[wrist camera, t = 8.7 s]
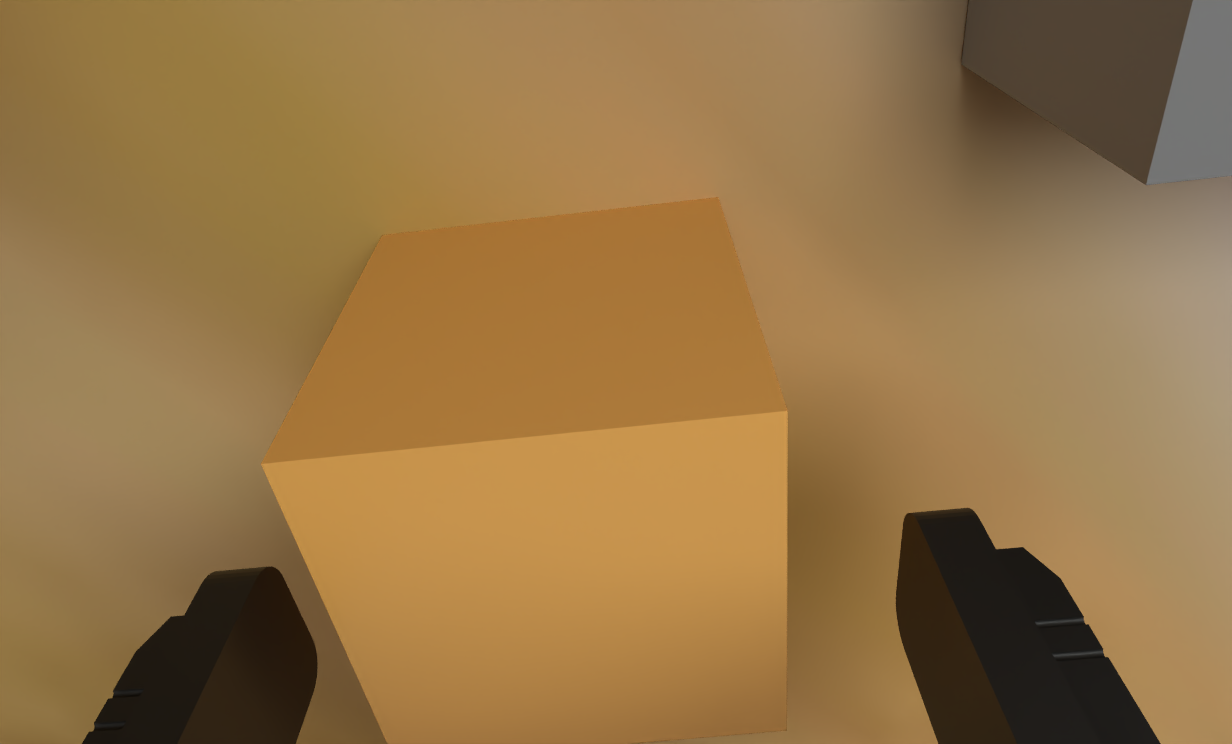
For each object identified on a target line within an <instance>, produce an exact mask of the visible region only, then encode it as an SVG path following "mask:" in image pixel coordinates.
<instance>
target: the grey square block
mask: <svg viewBox="0 0 1232 744" xmlns="http://www.w3.org/2000/svg"><path fill="white" fill-rule="evenodd" d="M962 65H963V66H965V67H966V68H968V69H969V70H971V71H972V72H974V73H975V74H977V75H979V76H980V77H982V78H983V79H985V80H986V81H988V82H989V83H991V84H992V85H994V86H995V87H997V88H998V89H1000V90H1001V91H1003V92H1005V93H1006V94H1008V95H1009V96H1011V97H1012V98H1014V99H1015V100H1017V101H1018V102H1020V103H1021V104H1023V105H1024V106H1026V107H1027V108H1029V109H1030V110H1032V111H1034V112H1035V113H1037V114H1038V115H1040V116H1041V117H1043V118H1044V119H1046V120H1047V121H1049V122H1050V123H1052V124H1053V125H1055V126H1056V127H1058V128H1060V129H1061V130H1063V131H1064V132H1066V133H1067V134H1069V135H1070V136H1072V137H1073V138H1075V139H1076V140H1078V141H1079V142H1081V143H1082V144H1084V145H1086V146H1087V147H1089V148H1090V149H1092V150H1093V151H1095V152H1096V153H1098V154H1099V155H1101V156H1102V157H1104V158H1105V159H1107V160H1108V161H1110V162H1112V163H1113V164H1115V165H1116V166H1118V167H1119V168H1121V169H1122V170H1124V171H1125V172H1127V173H1128V174H1130V175H1131V176H1133V177H1134V178H1136V179H1137V180H1139V181H1141V182H1142V183H1144V184H1145V185H1151V184H1160V183H1169V182H1179V181H1188V180H1197V179H1206V178H1216V177H1225V176H1232V0H969V4H968V12H967V21H966V30H965V38H964V47H963V55H962Z"/></svg>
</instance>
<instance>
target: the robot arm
mask: <svg viewBox="0 0 1232 744" xmlns="http://www.w3.org/2000/svg"><path fill="white" fill-rule="evenodd" d="M896 612H897V620H898V626H899V631H900V636H901V640H902V643H903V646H904V649H905V652H906V655H907V658H908V661H909V663H910V666H911V669H912V672H913V674H914V677H915V680H916V683H917V685H918V688H919V691H920V694H921V697H922V699H923V702H924V705H925V708H926V710H927V713H928V716H929V719H930V721H931V724H932V727H933V730H934V733H935V735H936V738H937V741H938V744H1160V742H1159V740H1158V739H1157V737H1156V735H1155V734H1154V732H1153V730H1152V729H1151V727H1150V725H1149V724H1148V722H1147V720H1146V719H1145V717H1144V715H1143V714H1142V712H1141V711H1140V709H1139V707H1138V706H1137V704H1136V702H1135V701H1134V699H1133V697H1132V696H1131V694H1130V692H1129V691H1128V689H1127V687H1126V686H1125V684H1124V682H1123V681H1122V679H1121V678H1120V676H1119V674H1118V673H1117V671H1116V669H1115V668H1114V666H1113V664H1112V663H1111V661H1110V659H1109V658H1108V657H1105V656H1104V654H1103V648H1102V646H1101V645H1100V643H1099V641H1098V640H1097V638H1096V636H1095V635H1094V633H1093V631H1092V630H1091V628H1090V626H1089V625H1086V624H1085V623H1084V616H1083V615H1082V613H1081V612H1080V610H1079V608H1078V607H1077V605H1076V603H1075V602H1074V600H1073V598H1072V597H1071V595H1070V593H1069V592H1068V590H1067V588H1066V587H1065V585H1064V583H1063V582H1062V580H1061V579H1060V578H1059V577H1058V576H1057V575H1056V574H1054V573H1053V572H1052V571H1051V570H1050V569H1048V568H1047V567H1046V566H1045V565H1044V564H1042V563H1041V562H1040V561H1039V560H1038V559H1036V558H1035V557H1034V556H1033V555H1032V554H1030V553H1029V552H1028V551H1027V550H1026V549H1024V548H1023V547H1020V548H1008V549H995V547H994V545H993V543H992V541H991V539H990V538H989V536H988V534H987V532H986V530H985V528H984V526H983V525H982V523H981V521H980V519H979V517H978V516H977V514H976V513H975V512H974V511H973V510H972V509H970V508H961V509H950V510H938V511H927V512H915V513H908V514H906V516H905V518H904V522H903V531H902V541H901V550H900V560H899V570H898V580H897V590H896ZM316 678H317V653H316V648H315V644H314V641H313V639H312V637H311V635H310V633H309V630H308V628H307V626H306V624H305V622H304V620H303V618H302V616H301V614H300V611H299V609H298V607H297V605H296V603H295V601H294V599H293V597H292V595H291V592H290V590H289V588H288V586H287V584H286V582H285V580H284V578H283V576H282V574H281V573H280V571H279V570H278V569H276V568H275V567H260V568H249V569H237V570H226V571H215V572H213V573H211V574H210V575H208V576H207V577H206V578H205V579H204V581H203V583H202V584H201V586H200V588H199V590H198V591H197V593H196V595H195V597H194V599H193V600H192V602H191V604H190V606H189V608H188V610H187V611H186V613H185V615H184V616H173V617H170V618H169V619H168V620H167V621H166V622H165V623H164V624H163V625H162V626H161V627H160V628H159V629H158V630H157V631H156V632H155V633H154V634H153V635H152V636H151V637H150V638H149V639H148V640H147V641H146V642H145V643H144V644H143V645H142V646H141V647H140V648H139V649H138V650H137V651H136V652H135V654H134V656H133V657H132V659H131V661H130V662H129V664H128V666H127V668H126V669H125V671H124V673H123V674H122V676H121V678H120V680H119V681H118V683H117V685H116V686H115V688H114V690H113V692H114V695H113V698H111V699H108V700H107V702H106V704H105V705H104V707H103V709H102V710H101V712H100V714H99V716H98V717H97V719H96V721H95V722H94V725H95V728H94V731H93V732H89V733H88V734H87V736H86V738H85V740H84V741H83V743H82V744H296V741H297V738H298V735H299V732H300V729H301V727H302V724H303V721H304V718H305V715H306V712H307V709H308V706H309V704H310V701H311V698H312V695H313V692H314V688H315V684H316Z"/></svg>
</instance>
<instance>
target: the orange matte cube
mask: <svg viewBox="0 0 1232 744" xmlns="http://www.w3.org/2000/svg"><path fill="white" fill-rule="evenodd" d="M787 431H788V411H787V408H786V404H785V401H784V398H783V395H782V392H781V389H780V386H779V383H778V380H777V377H776V374H775V371H774V368H773V365H772V361H771V358H770V355H769V352H768V349H767V346H766V343H765V340H764V337H763V334H762V331H761V328H760V325H759V322H758V318H757V315H756V312H755V309H754V306H753V303H752V300H751V297H750V294H749V291H748V288H747V285H746V282H745V278H744V275H743V272H742V269H741V266H740V263H739V260H738V257H737V254H736V251H735V248H734V245H733V242H732V239H731V235H730V232H729V229H728V226H727V223H726V220H725V217H724V214H723V211H722V208H721V205H720V202H719V199H718V197H716V198H707V199H698V200H689V201H680V202H671V203H662V204H654V205H645V206H636V207H627V208H618V209H609V210H601V211H592V212H583V213H574V214H565V215H556V216H547V217H539V218H530V219H521V220H512V221H503V222H494V223H485V224H477V225H468V226H459V227H450V228H441V229H432V230H423V231H415V232H406V233H397V234H388V235H382V237H381V238H380V240H379V242H378V244H377V246H376V248H375V250H374V252H373V254H372V255H371V257H370V259H369V261H368V263H367V265H366V267H365V269H364V271H363V272H362V274H361V276H360V278H359V280H358V282H357V284H356V286H355V288H354V289H353V291H352V293H351V295H350V297H349V299H348V301H347V303H346V304H345V306H344V308H343V310H342V312H341V314H340V316H339V318H338V320H337V321H336V323H335V325H334V327H333V329H332V331H331V333H330V335H329V337H328V338H327V340H326V342H325V344H324V346H323V348H322V350H321V352H320V354H319V355H318V357H317V359H316V361H315V363H314V365H313V367H312V369H311V370H310V372H309V374H308V376H307V378H306V380H305V382H304V384H303V386H302V387H301V389H300V391H299V393H298V395H297V397H296V399H295V401H294V403H293V404H292V406H291V408H290V410H289V412H288V414H287V416H286V418H285V420H284V421H283V423H282V425H281V427H280V429H279V431H278V433H277V435H276V437H275V438H274V440H273V442H272V444H271V446H270V448H269V450H268V452H267V453H266V455H265V457H264V459H263V461H262V463H261V465H262V467H263V470H264V472H265V474H266V476H267V478H268V481H269V483H270V485H271V487H272V490H273V492H274V494H275V496H276V498H277V501H278V503H279V505H280V507H281V509H282V512H283V514H284V516H285V518H286V520H287V523H288V525H289V527H290V529H291V532H292V534H293V536H294V538H295V540H296V543H297V545H298V547H299V549H300V551H301V554H302V556H303V558H304V560H305V562H306V565H307V567H308V569H309V571H310V574H311V576H312V578H313V580H314V582H315V585H316V587H317V589H318V591H319V593H320V596H321V598H322V600H323V602H324V605H325V607H326V609H327V611H328V613H329V616H330V618H331V620H332V622H333V624H334V627H335V629H336V631H337V633H338V635H339V638H340V640H341V642H342V644H343V647H344V649H345V651H346V653H347V655H348V658H349V660H350V662H351V664H352V666H353V669H354V671H355V673H356V675H357V677H358V680H359V682H360V684H361V686H362V689H363V691H364V693H365V695H366V697H367V700H368V702H369V704H370V706H371V708H372V711H373V713H374V715H375V717H376V719H377V722H378V724H379V726H380V728H381V731H382V733H383V735H384V737H385V739H386V742H387V744H632V743H644V742H656V741H668V740H680V739H692V738H704V737H716V736H728V735H740V734H752V733H764V732H776V731H787Z"/></svg>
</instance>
